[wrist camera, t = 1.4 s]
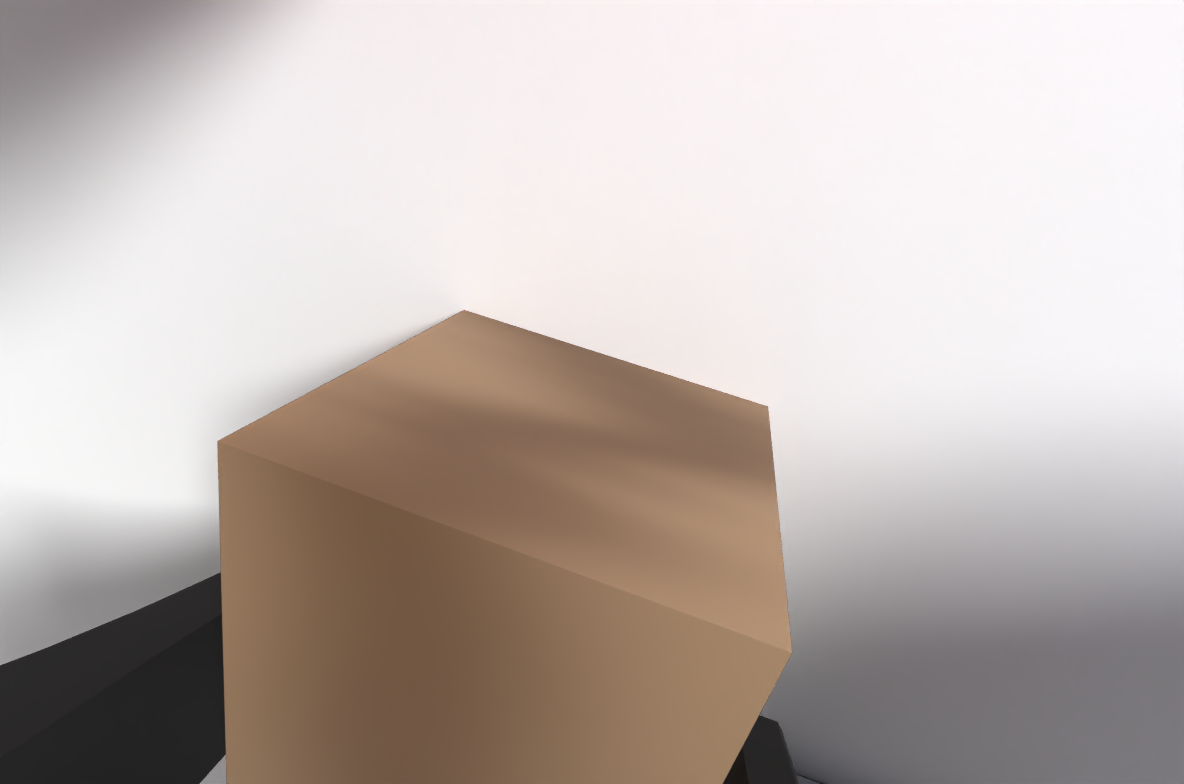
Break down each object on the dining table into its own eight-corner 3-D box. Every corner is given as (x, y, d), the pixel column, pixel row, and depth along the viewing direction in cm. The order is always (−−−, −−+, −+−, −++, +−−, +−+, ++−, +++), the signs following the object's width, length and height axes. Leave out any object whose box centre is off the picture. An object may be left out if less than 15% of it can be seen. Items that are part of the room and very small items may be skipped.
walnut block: (768, 404, 9) (792, 653, 4) (672, 638, 11) (622, 973, 6) (466, 308, 10) (216, 441, 5) (428, 547, 12) (226, 794, 7)
